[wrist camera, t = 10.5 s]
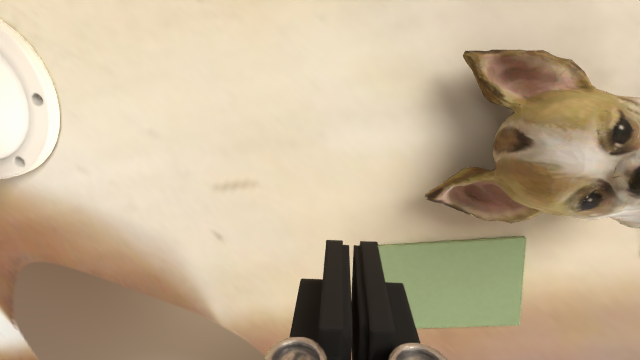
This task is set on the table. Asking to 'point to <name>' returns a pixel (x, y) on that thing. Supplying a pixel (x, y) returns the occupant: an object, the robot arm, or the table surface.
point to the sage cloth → (459, 280)
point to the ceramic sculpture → (551, 145)
